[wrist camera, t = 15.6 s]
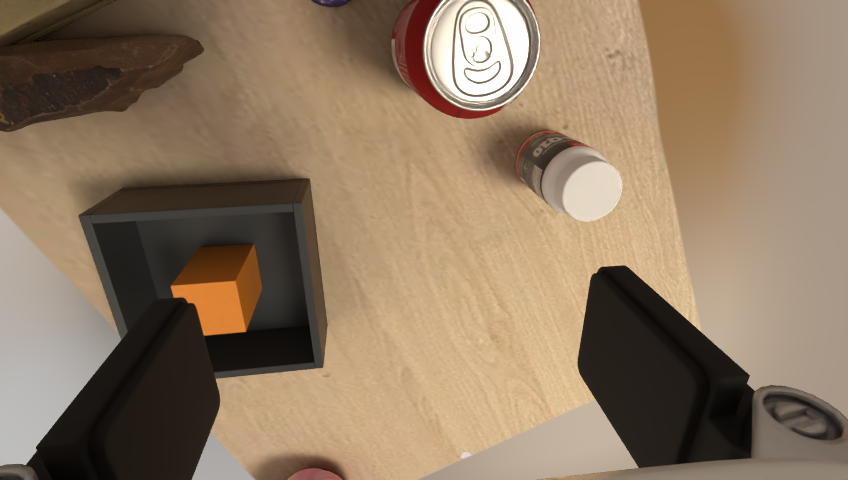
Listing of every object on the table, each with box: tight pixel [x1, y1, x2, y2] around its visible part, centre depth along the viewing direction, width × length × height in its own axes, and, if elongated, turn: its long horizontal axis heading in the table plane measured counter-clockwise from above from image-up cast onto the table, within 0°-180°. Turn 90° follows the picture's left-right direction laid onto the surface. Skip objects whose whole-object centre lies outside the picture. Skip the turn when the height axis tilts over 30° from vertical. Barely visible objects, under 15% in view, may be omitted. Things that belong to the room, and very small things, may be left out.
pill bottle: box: [516, 131, 622, 222], centre depth 32 cm, size 5×5×8 cm
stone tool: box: [0, 35, 204, 132], centre depth 27 cm, size 6×5×15 cm
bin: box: [79, 179, 327, 379], centre depth 33 cm, size 13×13×6 cm
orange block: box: [171, 244, 262, 336], centre depth 32 cm, size 4×4×6 cm
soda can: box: [391, 0, 541, 119], centre depth 26 cm, size 7×7×12 cm
